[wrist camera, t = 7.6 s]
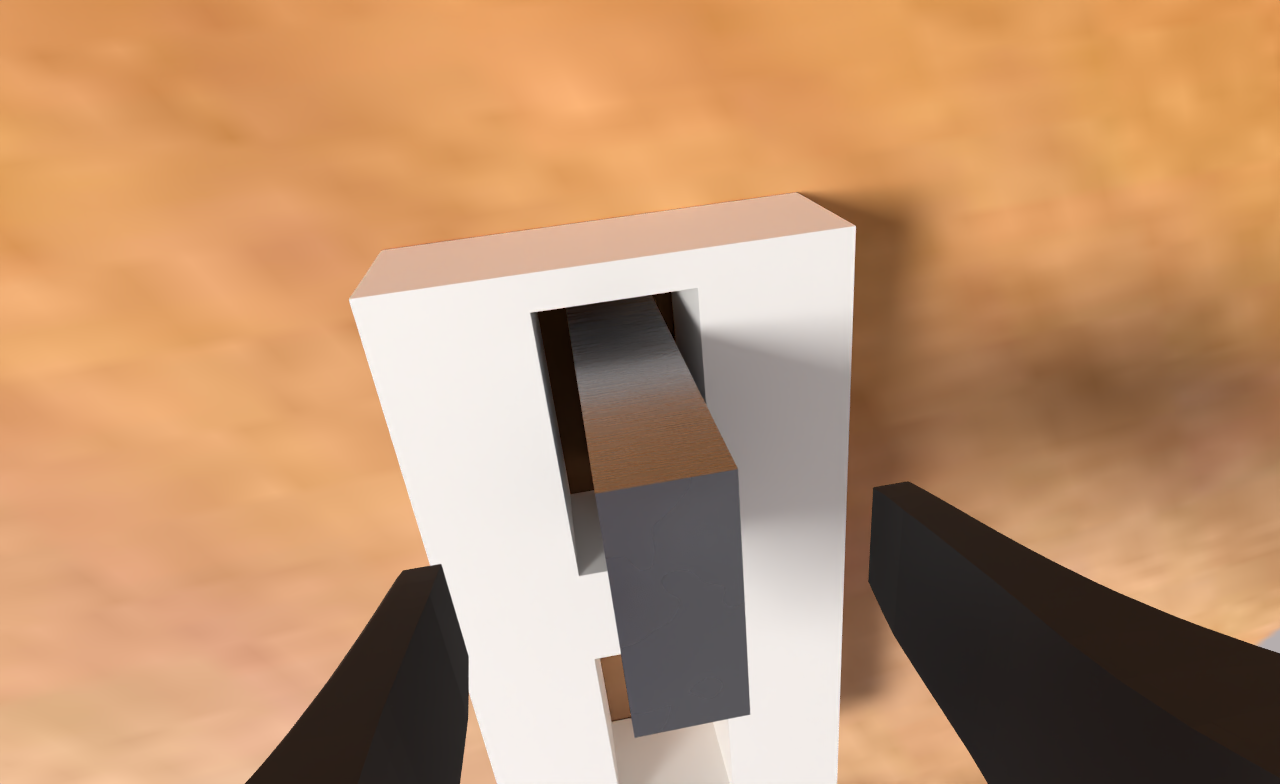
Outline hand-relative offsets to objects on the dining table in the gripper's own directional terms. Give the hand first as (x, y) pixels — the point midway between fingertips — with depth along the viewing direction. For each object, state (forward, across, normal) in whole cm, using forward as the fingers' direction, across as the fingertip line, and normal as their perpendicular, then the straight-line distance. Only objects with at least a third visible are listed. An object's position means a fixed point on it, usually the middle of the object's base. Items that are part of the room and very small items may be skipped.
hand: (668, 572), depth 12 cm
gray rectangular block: (+8, 0, 0) cm, 8 cm away
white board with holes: (+8, 0, +5) cm, 9 cm away
